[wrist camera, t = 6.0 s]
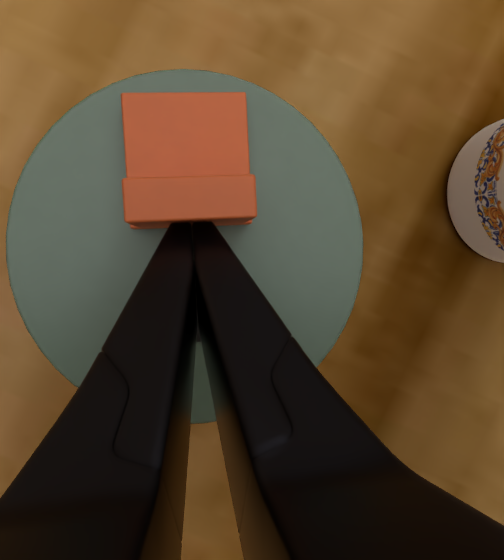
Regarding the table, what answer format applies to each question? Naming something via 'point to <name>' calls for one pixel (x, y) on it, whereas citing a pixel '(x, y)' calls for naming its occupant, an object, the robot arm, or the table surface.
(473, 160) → the bath foam
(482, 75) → the table surface
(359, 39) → the table surface
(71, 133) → the travel cup
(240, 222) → the slider
